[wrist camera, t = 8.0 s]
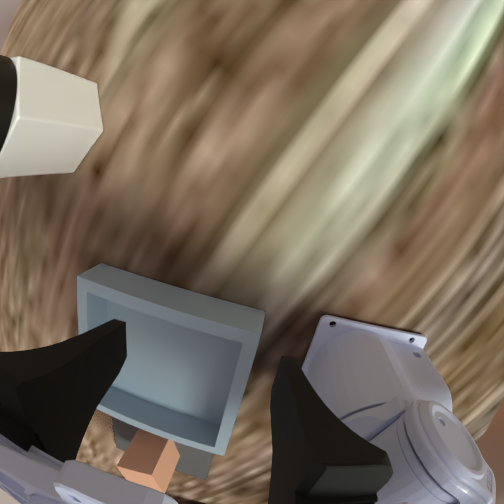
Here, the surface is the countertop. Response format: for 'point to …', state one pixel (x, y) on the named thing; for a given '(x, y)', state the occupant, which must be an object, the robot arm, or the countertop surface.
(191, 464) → the mat
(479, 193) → the countertop surface
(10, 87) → the jar
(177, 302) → the bin
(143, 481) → the block
